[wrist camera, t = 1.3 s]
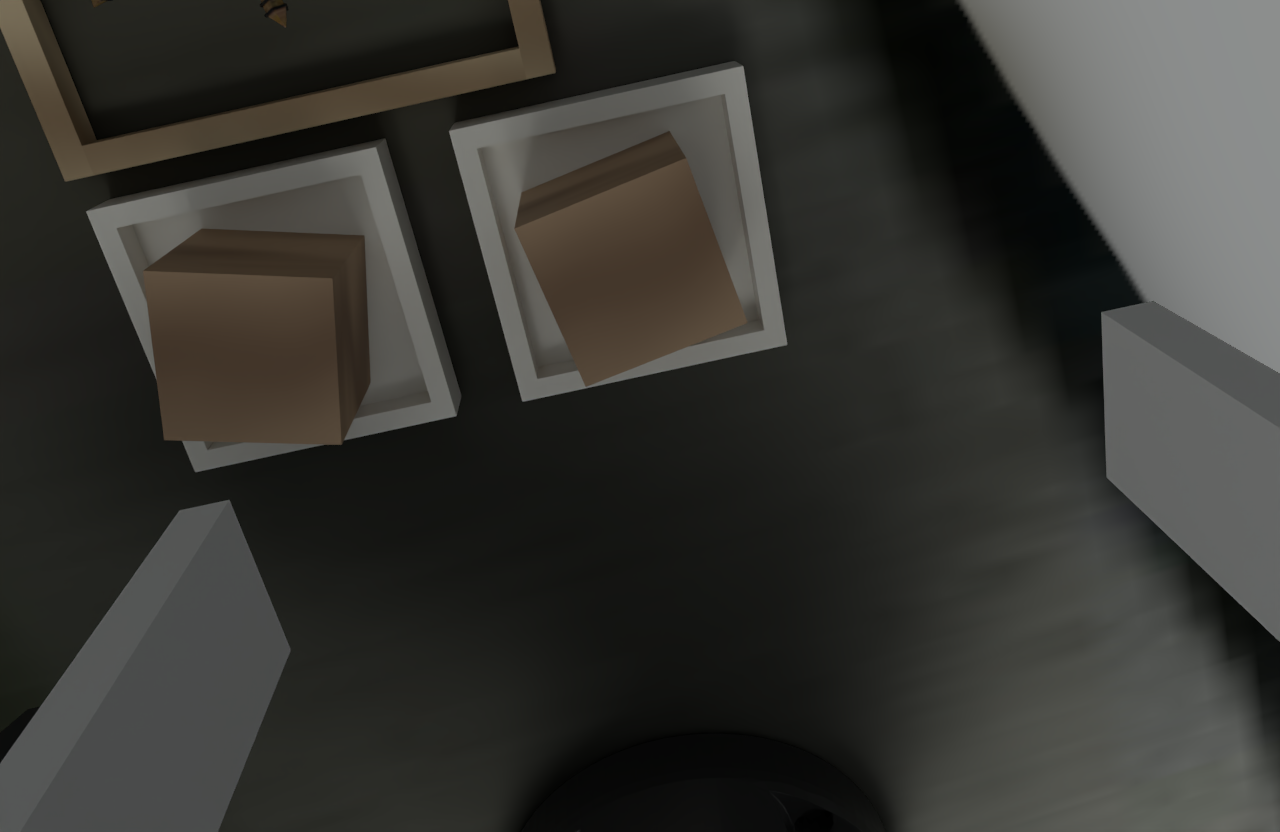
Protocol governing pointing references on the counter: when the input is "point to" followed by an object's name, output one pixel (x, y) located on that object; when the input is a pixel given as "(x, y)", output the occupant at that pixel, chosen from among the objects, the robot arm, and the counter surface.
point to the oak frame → (81, 155)
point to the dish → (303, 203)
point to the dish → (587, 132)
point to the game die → (270, 3)
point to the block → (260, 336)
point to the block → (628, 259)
